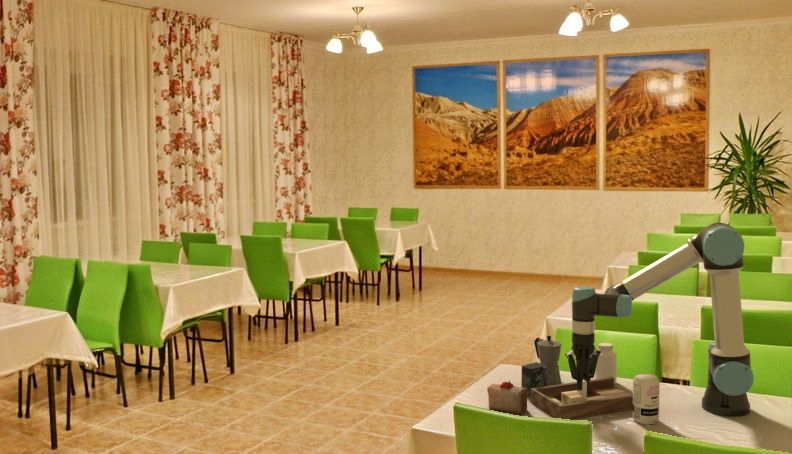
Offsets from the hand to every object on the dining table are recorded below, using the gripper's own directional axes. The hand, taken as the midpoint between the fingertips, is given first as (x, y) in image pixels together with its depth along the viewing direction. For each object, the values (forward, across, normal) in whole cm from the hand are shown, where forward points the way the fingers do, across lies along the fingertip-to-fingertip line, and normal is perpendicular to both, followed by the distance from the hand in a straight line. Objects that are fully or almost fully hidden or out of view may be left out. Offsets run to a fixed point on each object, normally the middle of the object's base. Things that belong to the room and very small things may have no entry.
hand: (582, 398), depth 254 cm
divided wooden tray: (+4, -4, -3) cm, 7 cm away
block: (+2, +4, 0) cm, 4 cm away
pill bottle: (+4, -24, -22) cm, 33 cm away
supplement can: (+4, -13, +17) cm, 22 cm away
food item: (+4, +24, -10) cm, 26 cm away
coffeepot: (+4, -5, -32) cm, 33 cm away
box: (+4, +7, -21) cm, 23 cm away
